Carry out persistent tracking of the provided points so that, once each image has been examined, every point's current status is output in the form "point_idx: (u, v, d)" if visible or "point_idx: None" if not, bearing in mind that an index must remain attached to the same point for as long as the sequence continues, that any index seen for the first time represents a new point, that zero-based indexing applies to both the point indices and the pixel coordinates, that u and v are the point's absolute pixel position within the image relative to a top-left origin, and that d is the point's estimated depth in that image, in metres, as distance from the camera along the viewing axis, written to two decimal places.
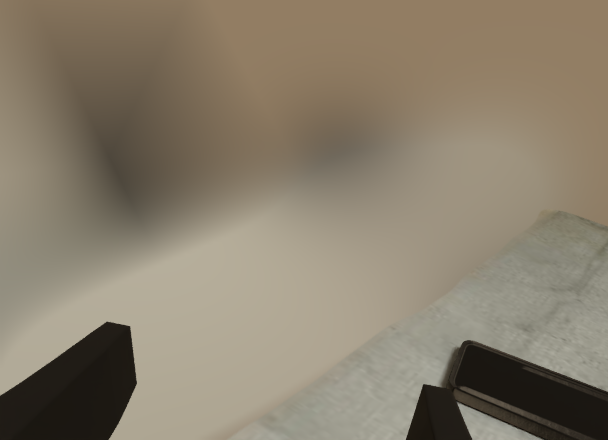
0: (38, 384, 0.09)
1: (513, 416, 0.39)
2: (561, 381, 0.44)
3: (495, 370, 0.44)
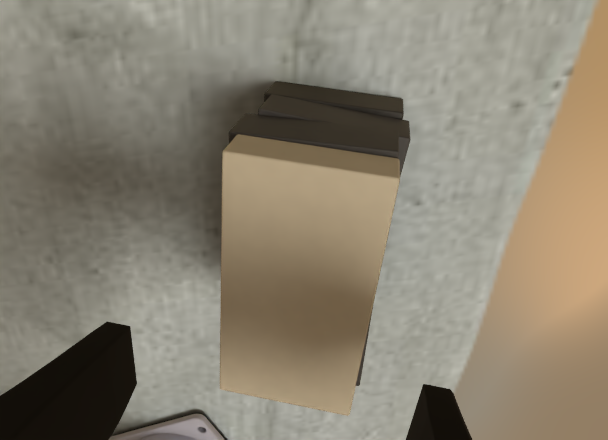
0: (38, 384, 0.09)
1: None
2: None
3: None
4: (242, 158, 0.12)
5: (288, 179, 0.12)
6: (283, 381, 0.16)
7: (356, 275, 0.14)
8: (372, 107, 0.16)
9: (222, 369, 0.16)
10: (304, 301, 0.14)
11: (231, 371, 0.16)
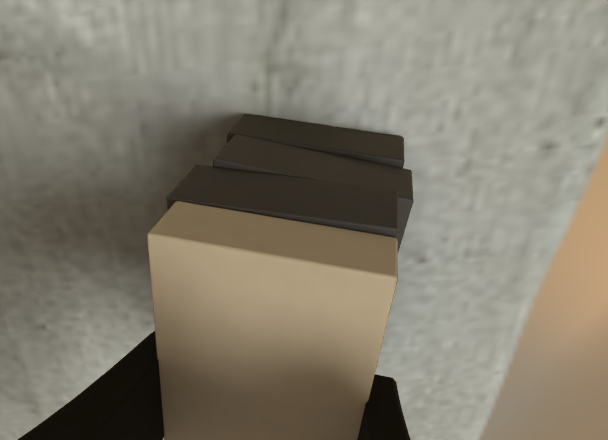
0: (97, 397, 0.09)
1: None
2: None
3: None
4: (175, 243, 0.09)
5: (240, 273, 0.09)
6: None
7: (339, 393, 0.10)
8: (363, 151, 0.13)
9: None
10: (270, 419, 0.11)
11: None
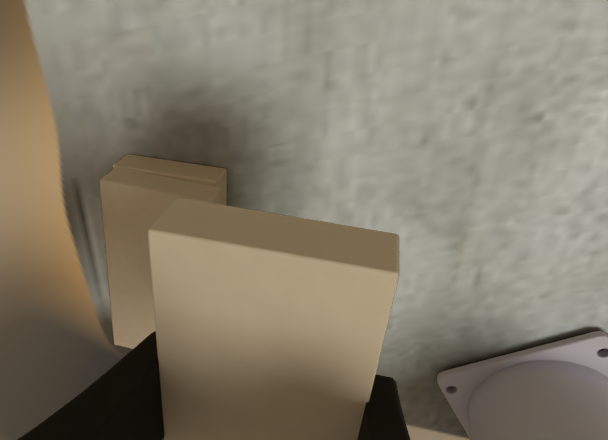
0: (97, 397, 0.09)
1: None
2: None
3: None
4: (175, 240, 0.09)
5: (241, 269, 0.09)
6: None
7: (340, 391, 0.10)
8: None
9: None
10: (271, 417, 0.11)
11: None
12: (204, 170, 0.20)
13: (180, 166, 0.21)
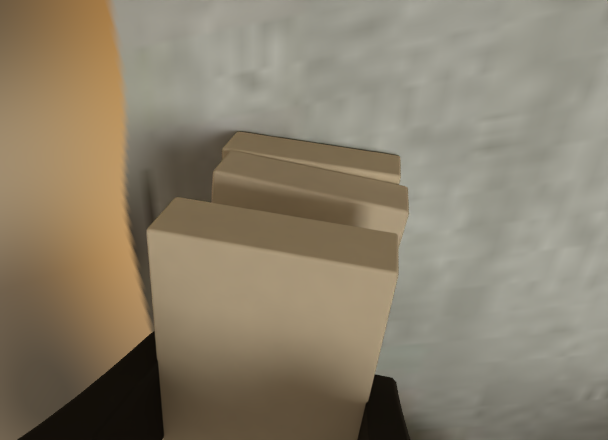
0: (97, 397, 0.09)
1: None
2: None
3: None
4: (174, 239, 0.09)
5: (240, 269, 0.09)
6: None
7: (339, 390, 0.10)
8: None
9: None
10: (270, 417, 0.11)
11: None
12: (368, 157, 0.13)
13: (328, 151, 0.13)
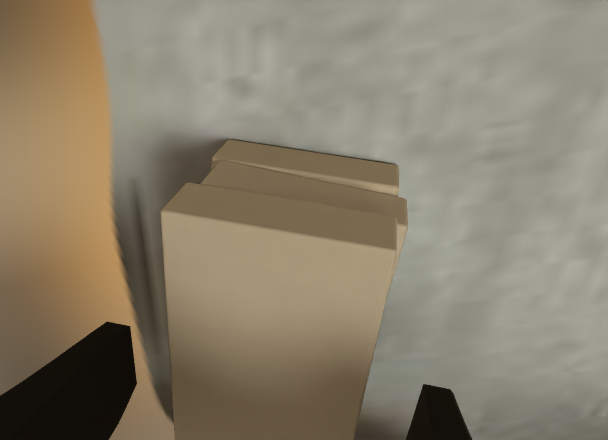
0: (38, 384, 0.09)
1: None
2: None
3: None
4: (187, 220, 0.09)
5: (248, 248, 0.09)
6: None
7: (341, 365, 0.10)
8: None
9: None
10: (275, 392, 0.11)
11: None
12: (365, 167, 0.12)
13: (323, 161, 0.12)
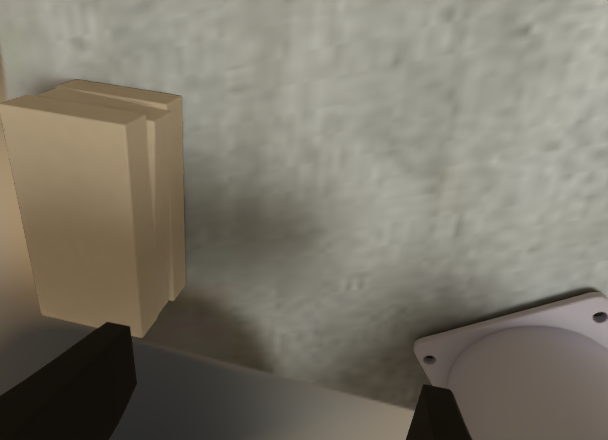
0: (38, 384, 0.09)
1: None
2: None
3: None
4: (13, 109, 0.16)
5: (48, 126, 0.16)
6: (86, 306, 0.19)
7: (115, 208, 0.17)
8: None
9: (39, 295, 0.20)
10: (84, 232, 0.18)
11: (46, 297, 0.20)
12: (155, 95, 0.19)
13: (130, 91, 0.19)
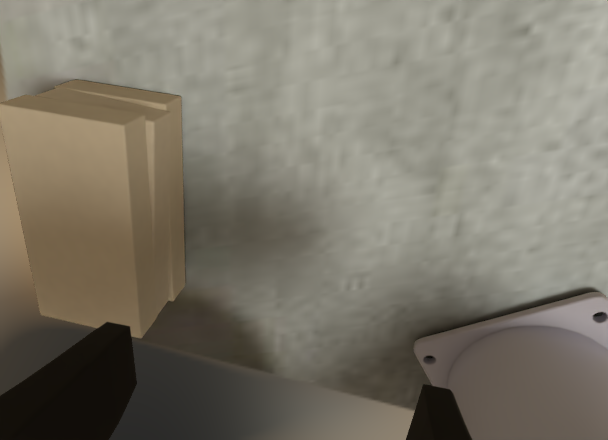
0: (38, 384, 0.09)
1: None
2: None
3: None
4: (11, 109, 0.16)
5: (46, 126, 0.16)
6: (85, 306, 0.19)
7: (114, 208, 0.17)
8: None
9: (38, 296, 0.20)
10: (83, 232, 0.18)
11: (45, 297, 0.20)
12: (155, 95, 0.19)
13: (129, 91, 0.19)
